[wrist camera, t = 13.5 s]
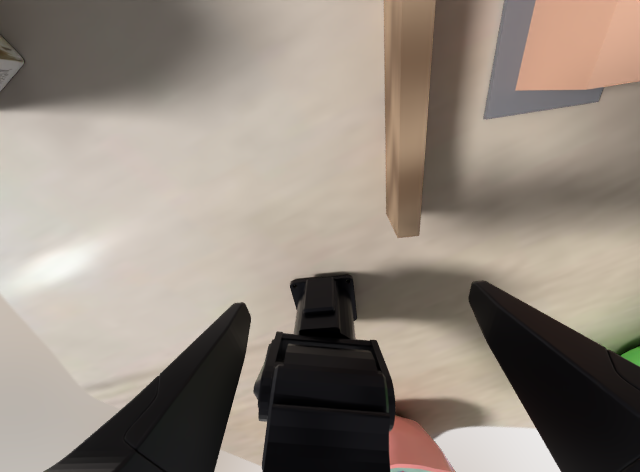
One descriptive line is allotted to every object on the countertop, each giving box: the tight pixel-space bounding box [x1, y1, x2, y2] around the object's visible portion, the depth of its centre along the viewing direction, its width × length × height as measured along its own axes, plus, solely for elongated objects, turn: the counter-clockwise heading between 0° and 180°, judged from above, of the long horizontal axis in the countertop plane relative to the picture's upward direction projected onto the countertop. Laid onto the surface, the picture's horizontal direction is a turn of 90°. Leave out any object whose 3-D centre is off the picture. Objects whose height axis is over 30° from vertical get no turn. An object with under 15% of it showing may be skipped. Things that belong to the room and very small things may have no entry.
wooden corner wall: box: [384, 0, 436, 238], centre depth 12 cm, size 22×22×4 cm
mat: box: [483, 0, 604, 119], centre depth 14 cm, size 10×7×1 cm
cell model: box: [389, 415, 455, 472], centre depth 36 cm, size 17×20×11 cm
